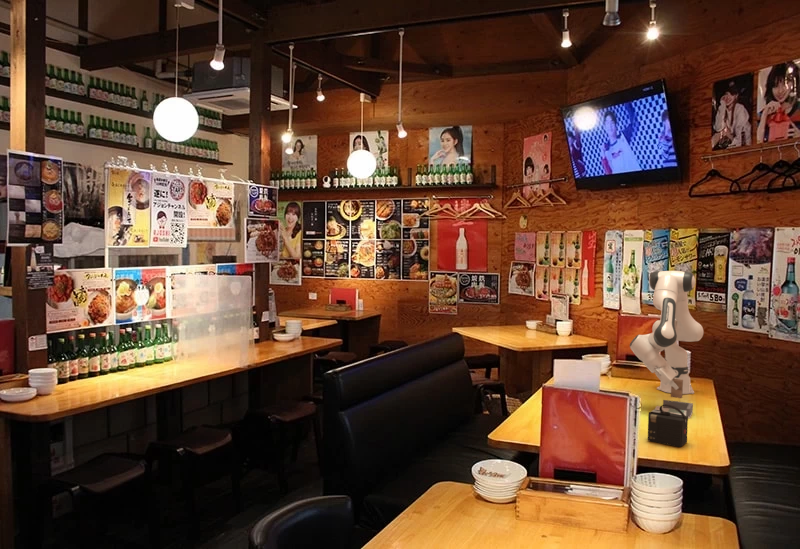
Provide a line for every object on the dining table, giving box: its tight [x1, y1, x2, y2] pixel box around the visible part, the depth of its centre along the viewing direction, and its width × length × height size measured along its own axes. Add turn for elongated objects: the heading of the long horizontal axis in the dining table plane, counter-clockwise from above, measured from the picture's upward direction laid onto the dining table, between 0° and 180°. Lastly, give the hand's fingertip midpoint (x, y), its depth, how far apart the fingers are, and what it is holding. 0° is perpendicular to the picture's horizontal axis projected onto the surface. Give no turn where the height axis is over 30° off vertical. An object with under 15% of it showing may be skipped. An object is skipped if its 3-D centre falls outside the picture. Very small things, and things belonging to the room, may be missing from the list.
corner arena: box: [654, 399, 694, 420], centre depth 303 cm, size 12×16×4 cm
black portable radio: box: [647, 404, 689, 448], centre depth 258 cm, size 11×14×15 cm
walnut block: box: [670, 379, 684, 399], centre depth 302 cm, size 4×4×8 cm
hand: (678, 387), depth 302 cm, fingers closed on walnut block, 4 cm apart
